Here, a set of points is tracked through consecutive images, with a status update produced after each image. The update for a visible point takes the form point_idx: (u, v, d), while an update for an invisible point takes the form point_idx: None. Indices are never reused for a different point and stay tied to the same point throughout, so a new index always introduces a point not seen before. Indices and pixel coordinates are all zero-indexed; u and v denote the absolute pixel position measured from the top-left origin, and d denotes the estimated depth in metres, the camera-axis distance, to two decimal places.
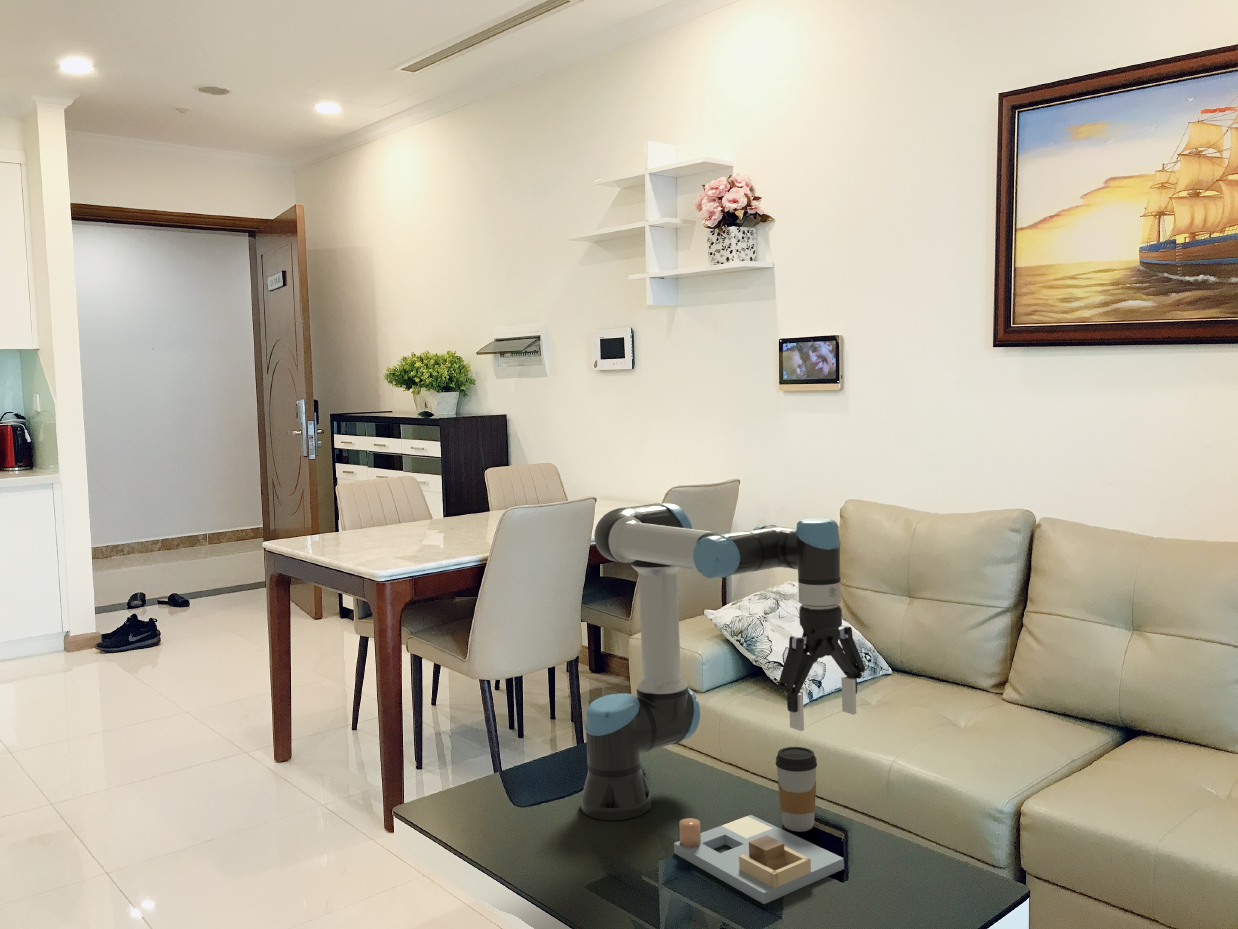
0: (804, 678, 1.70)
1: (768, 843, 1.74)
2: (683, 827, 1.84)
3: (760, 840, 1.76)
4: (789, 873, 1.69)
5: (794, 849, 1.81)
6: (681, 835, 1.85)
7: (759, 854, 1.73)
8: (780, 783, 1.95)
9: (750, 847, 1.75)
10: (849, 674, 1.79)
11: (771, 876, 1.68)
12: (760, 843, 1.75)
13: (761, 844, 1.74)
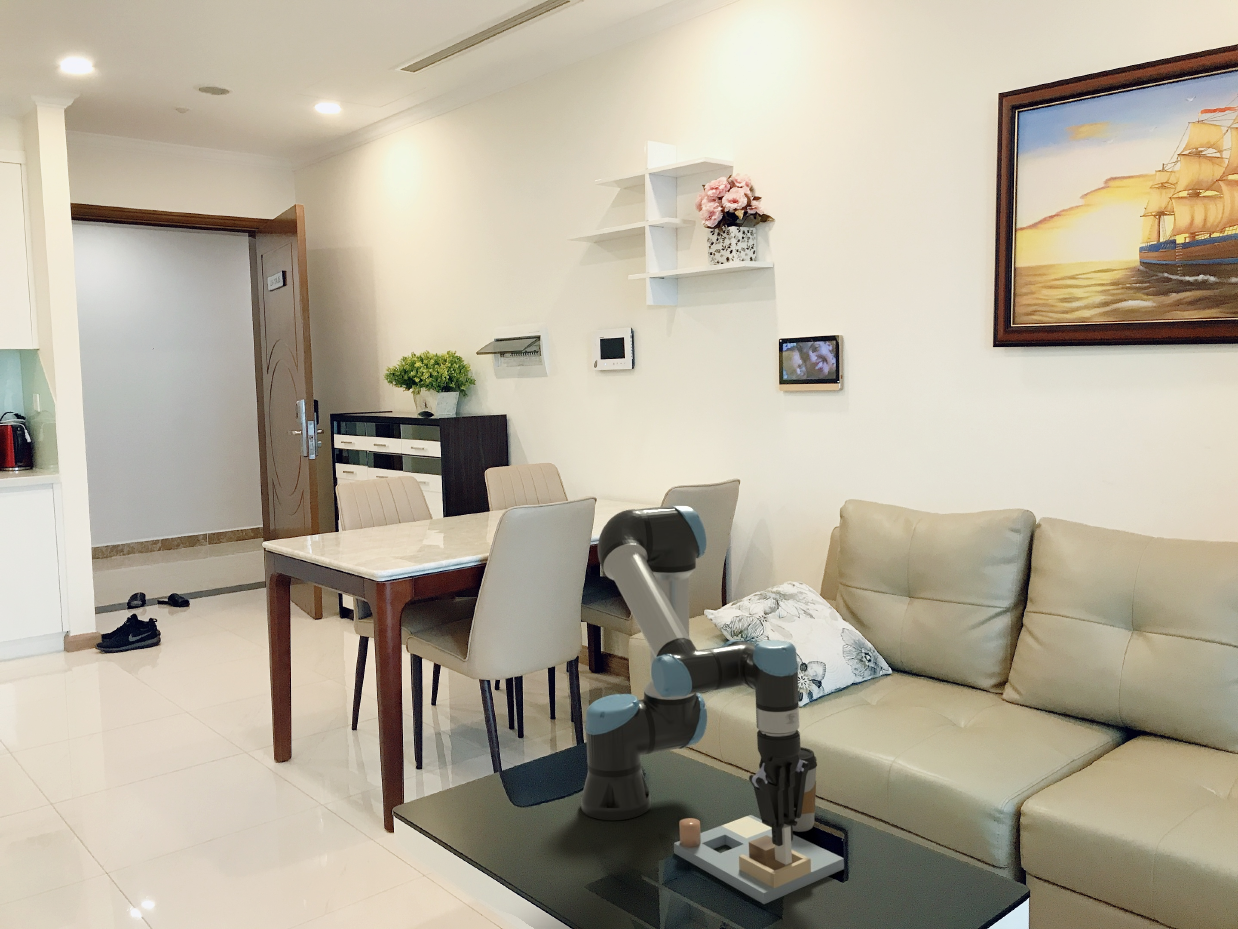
0: (781, 809, 1.69)
1: (768, 843, 1.74)
2: (684, 827, 1.84)
3: (760, 840, 1.76)
4: (789, 873, 1.69)
5: (794, 849, 1.81)
6: (681, 835, 1.85)
7: (759, 854, 1.73)
8: None
9: (750, 847, 1.75)
10: (784, 820, 1.71)
11: (771, 876, 1.68)
12: (760, 843, 1.75)
13: (761, 844, 1.74)
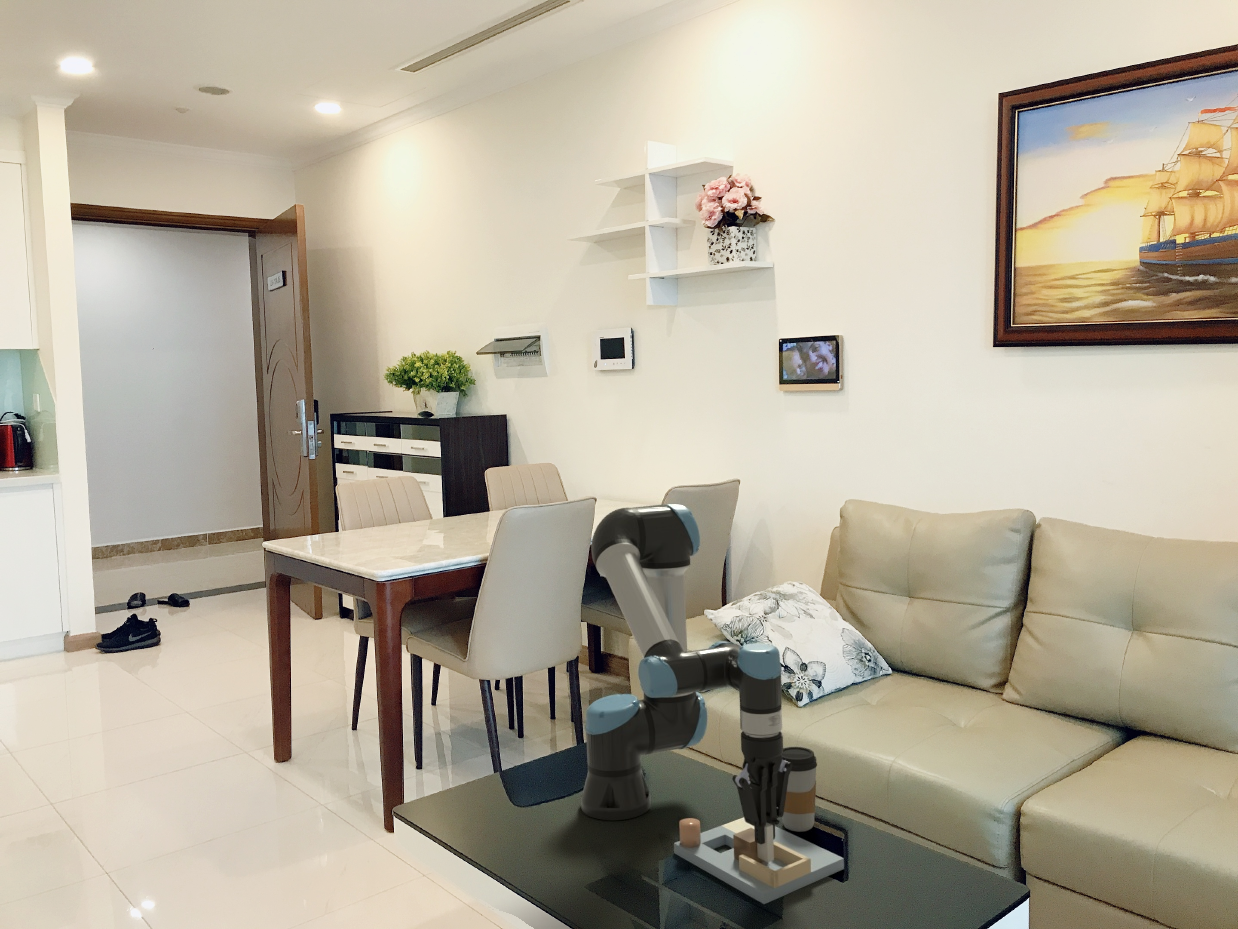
0: (764, 808, 1.73)
1: (752, 836, 1.78)
2: (684, 827, 1.84)
3: (744, 832, 1.79)
4: (789, 873, 1.69)
5: (794, 849, 1.81)
6: (681, 835, 1.85)
7: (744, 846, 1.76)
8: None
9: (735, 839, 1.78)
10: (767, 819, 1.75)
11: (771, 876, 1.68)
12: (744, 835, 1.78)
13: (745, 837, 1.77)
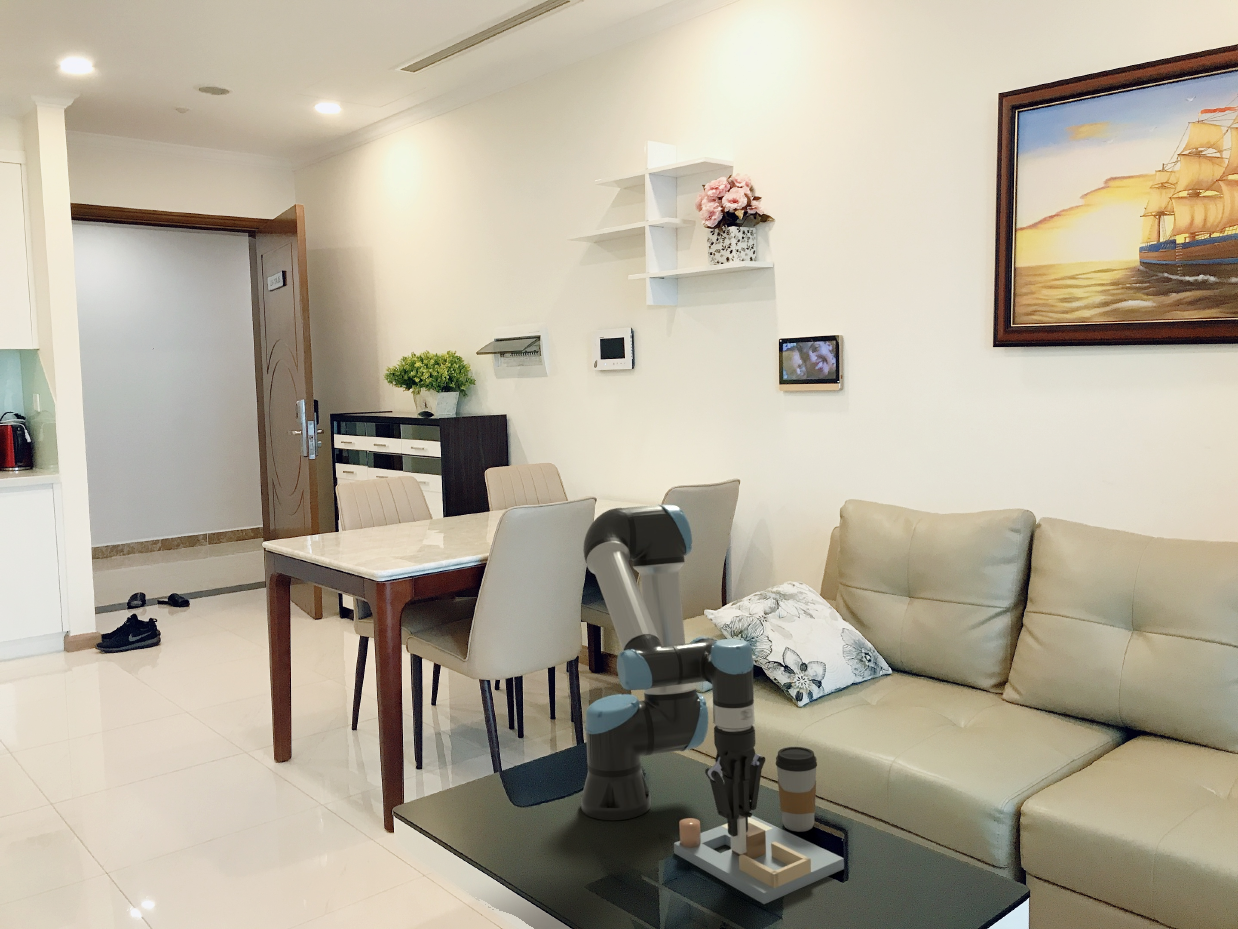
0: (736, 801, 1.76)
1: (750, 830, 1.80)
2: (683, 827, 1.84)
3: None
4: (789, 873, 1.69)
5: (794, 849, 1.81)
6: (681, 835, 1.85)
7: None
8: (780, 783, 1.95)
9: None
10: (740, 812, 1.78)
11: (771, 876, 1.68)
12: None
13: None
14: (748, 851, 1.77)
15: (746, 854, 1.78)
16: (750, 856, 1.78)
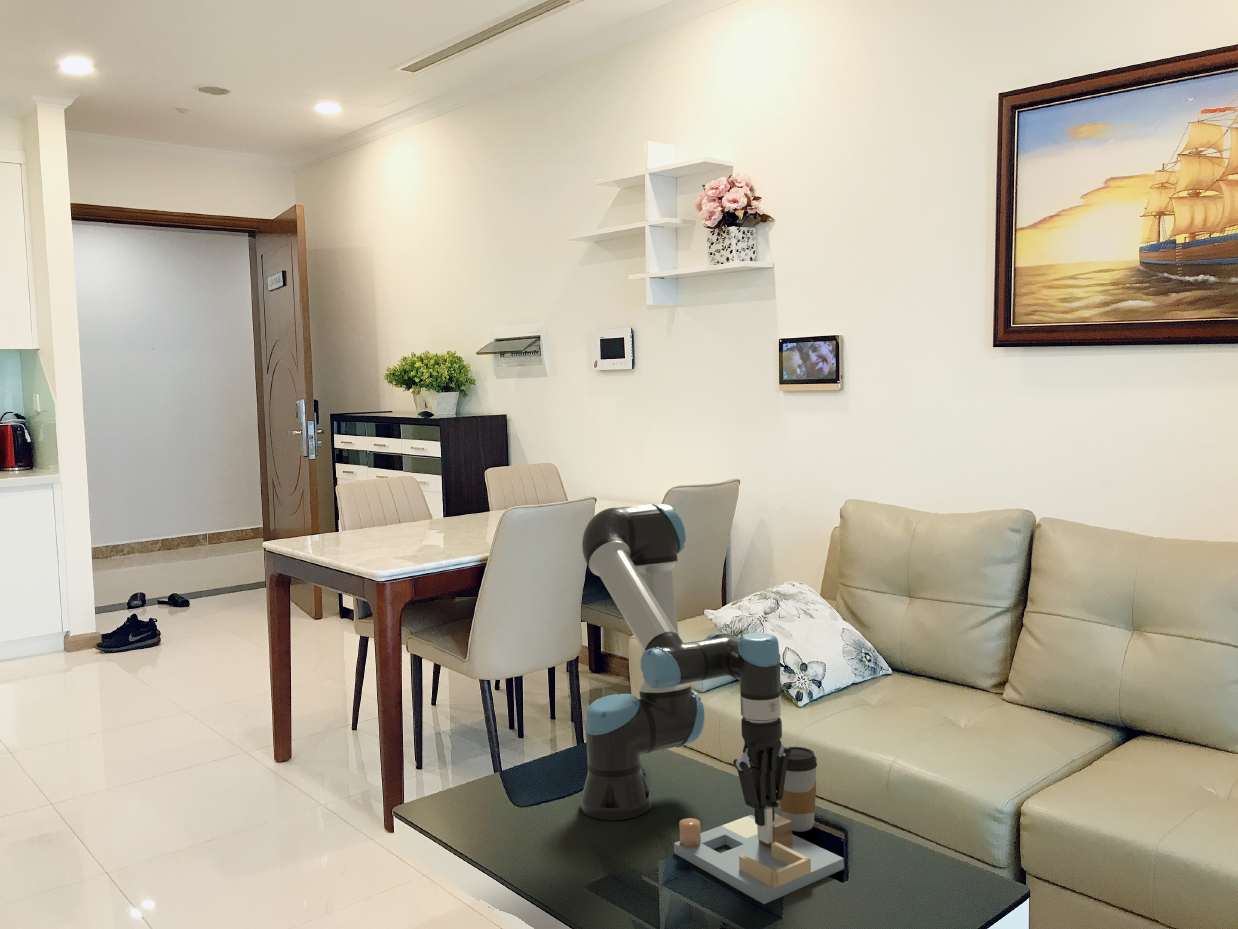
0: (764, 791, 1.80)
1: (777, 821, 1.84)
2: (684, 827, 1.84)
3: None
4: (789, 873, 1.69)
5: (794, 849, 1.81)
6: (681, 835, 1.85)
7: None
8: None
9: None
10: (766, 802, 1.82)
11: (771, 876, 1.68)
12: None
13: None
14: (775, 841, 1.81)
15: None
16: None
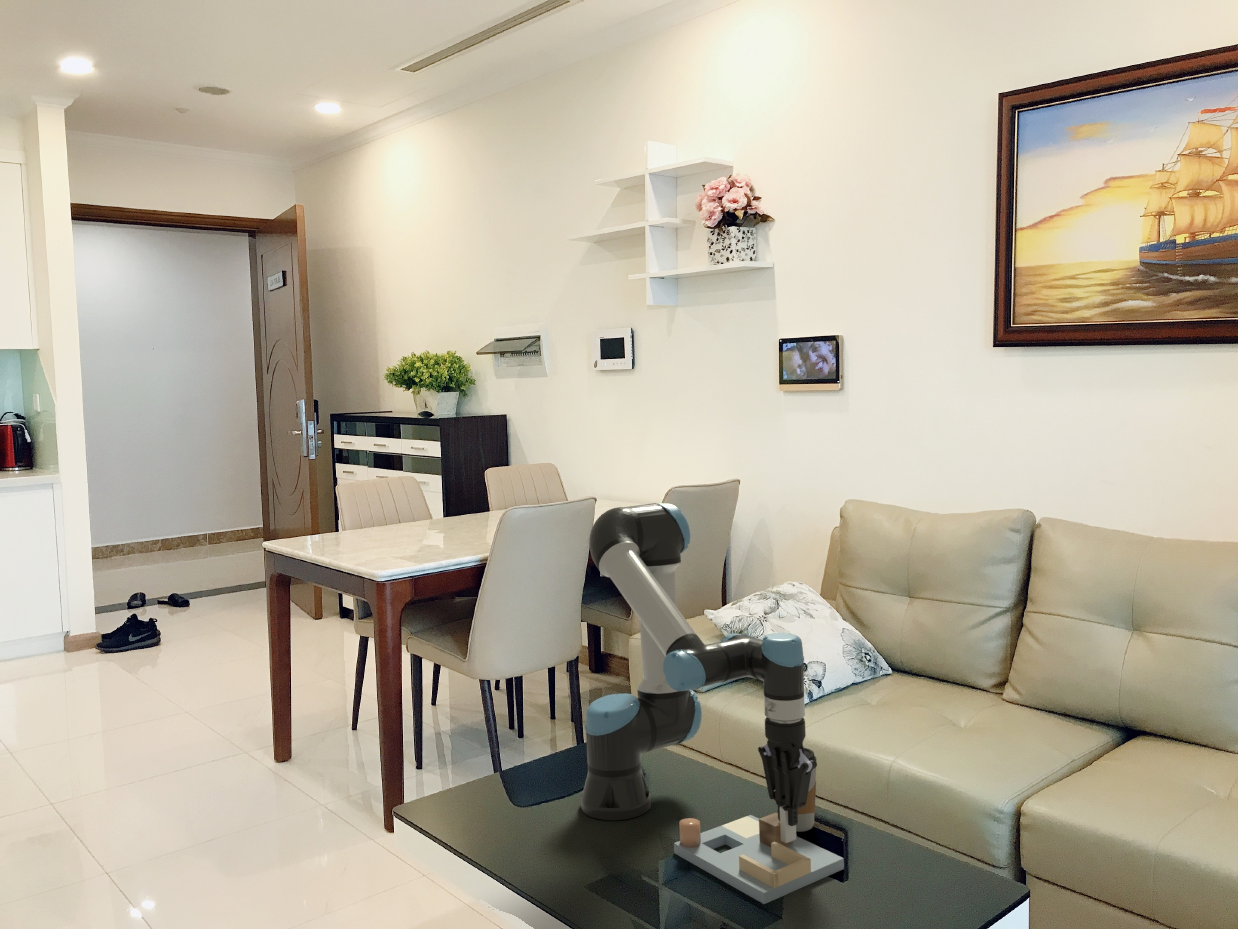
0: (778, 788, 1.82)
1: (777, 820, 1.84)
2: (683, 827, 1.84)
3: (769, 817, 1.86)
4: (789, 873, 1.69)
5: (794, 849, 1.81)
6: (681, 835, 1.85)
7: (769, 830, 1.83)
8: None
9: (760, 824, 1.85)
10: None
11: (771, 876, 1.68)
12: (769, 820, 1.84)
13: (770, 821, 1.84)
14: (776, 840, 1.82)
15: None
16: None
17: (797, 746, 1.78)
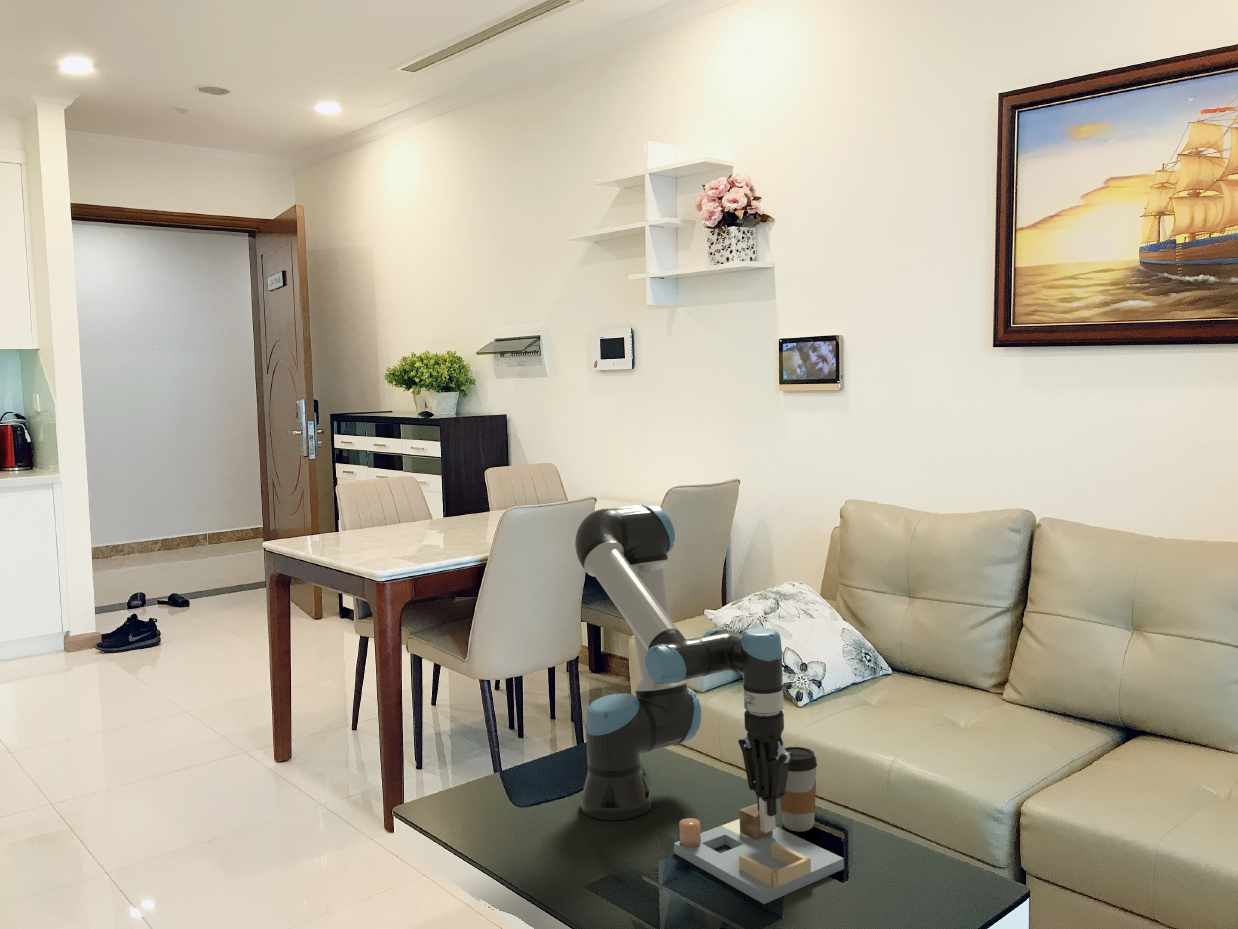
0: (757, 779, 1.86)
1: (757, 811, 1.89)
2: (683, 827, 1.84)
3: (749, 808, 1.90)
4: (789, 873, 1.69)
5: (794, 849, 1.81)
6: (681, 835, 1.85)
7: (749, 820, 1.87)
8: None
9: (740, 814, 1.89)
10: None
11: (771, 876, 1.68)
12: (749, 810, 1.89)
13: (750, 812, 1.88)
14: (756, 830, 1.86)
15: (754, 833, 1.86)
16: (758, 835, 1.86)
17: (775, 738, 1.82)
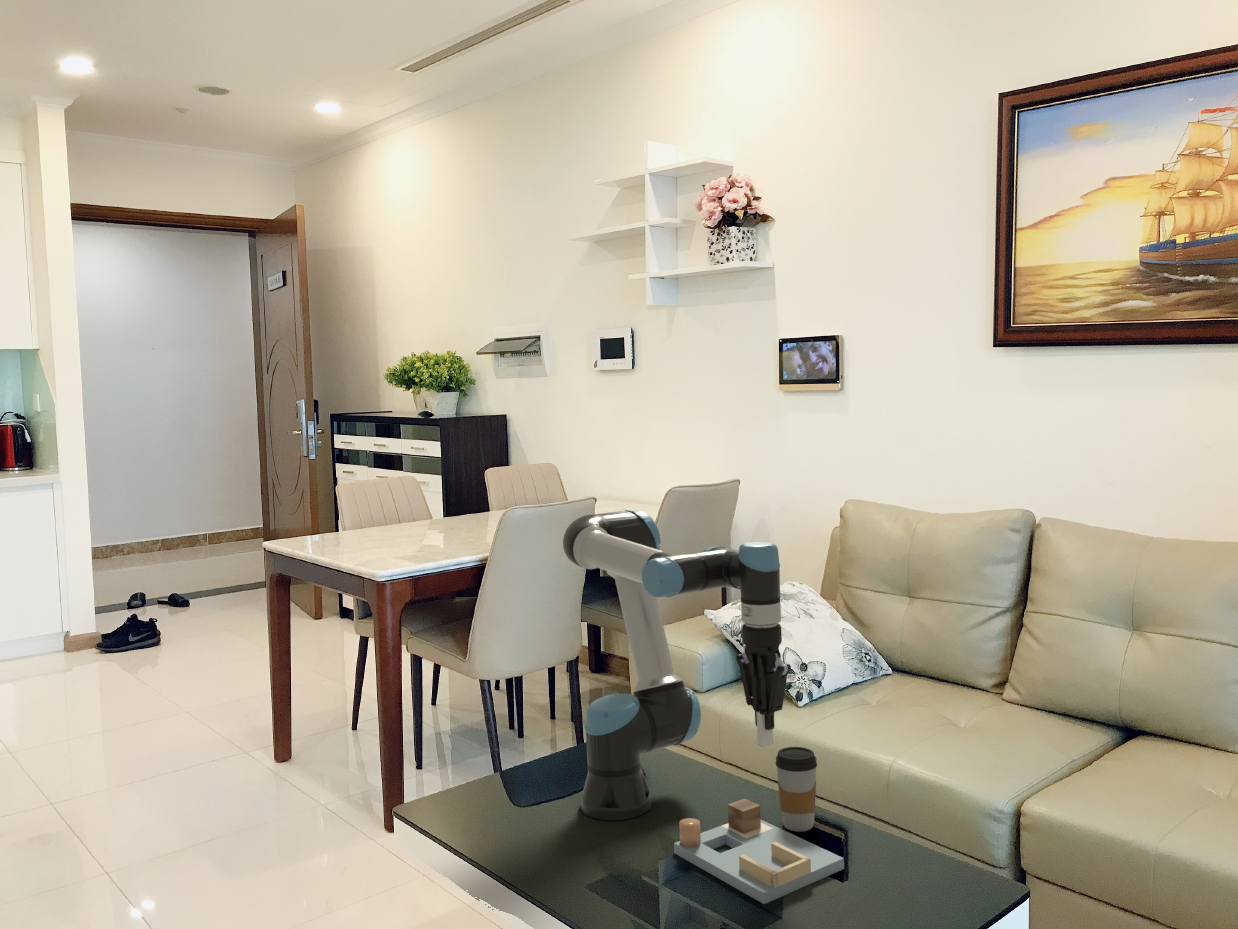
0: (755, 693, 1.85)
1: (746, 805, 1.91)
2: (683, 827, 1.84)
3: (738, 802, 1.93)
4: (789, 873, 1.69)
5: (794, 849, 1.81)
6: (681, 835, 1.85)
7: (737, 815, 1.90)
8: (780, 783, 1.95)
9: (729, 809, 1.92)
10: None
11: (771, 876, 1.68)
12: (738, 805, 1.92)
13: (739, 806, 1.91)
14: (744, 825, 1.89)
15: (742, 827, 1.89)
16: (746, 829, 1.89)
17: (773, 650, 1.81)
